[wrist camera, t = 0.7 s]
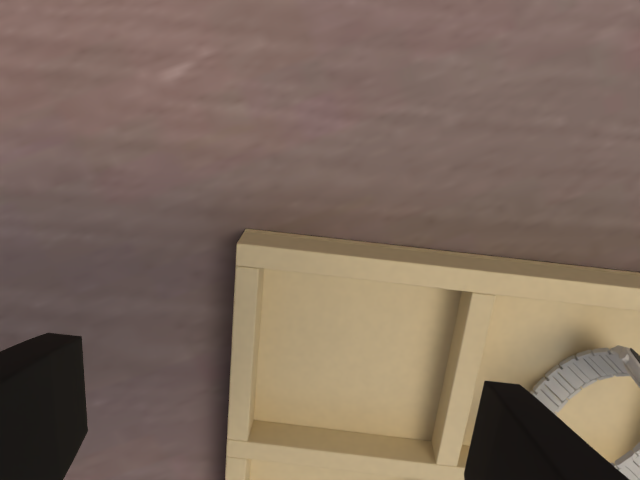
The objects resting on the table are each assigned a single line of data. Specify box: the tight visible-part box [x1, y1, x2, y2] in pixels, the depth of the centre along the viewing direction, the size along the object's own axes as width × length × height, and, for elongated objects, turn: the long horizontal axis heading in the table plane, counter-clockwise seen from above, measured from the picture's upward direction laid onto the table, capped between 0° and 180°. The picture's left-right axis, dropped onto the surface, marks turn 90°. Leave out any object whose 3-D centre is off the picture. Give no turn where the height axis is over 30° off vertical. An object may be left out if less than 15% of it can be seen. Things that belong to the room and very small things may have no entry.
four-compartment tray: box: [225, 229, 640, 480], centre depth 21 cm, size 16×16×2 cm
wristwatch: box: [530, 345, 640, 480], centre depth 17 cm, size 3×5×5 cm, turn 136°
